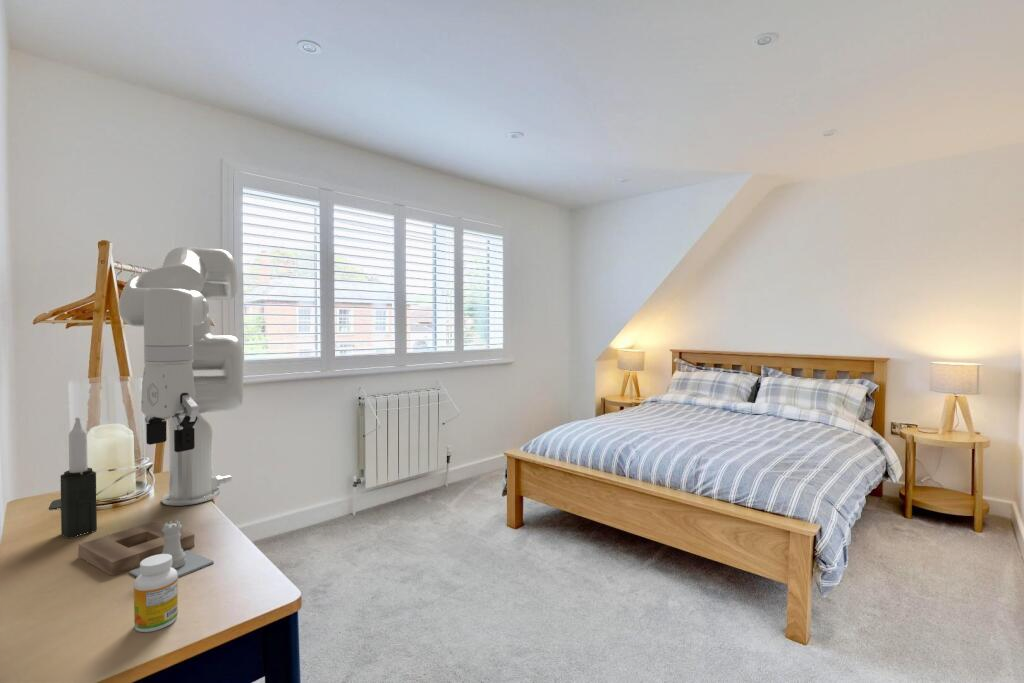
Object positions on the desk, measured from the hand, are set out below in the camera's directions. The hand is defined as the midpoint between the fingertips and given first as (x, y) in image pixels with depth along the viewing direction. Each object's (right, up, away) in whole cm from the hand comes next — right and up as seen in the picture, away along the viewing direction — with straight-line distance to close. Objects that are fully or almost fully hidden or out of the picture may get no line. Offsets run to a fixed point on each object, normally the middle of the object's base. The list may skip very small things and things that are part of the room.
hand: (170, 446), depth 93 cm
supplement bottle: (+10, -23, -17) cm, 31 cm away
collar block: (-11, -22, +6) cm, 25 cm away
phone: (-44, -21, +34) cm, 60 cm away
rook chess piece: (+1, -22, 0) cm, 22 cm away
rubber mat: (+1, -23, 0) cm, 22 cm away
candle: (-30, -22, +15) cm, 40 cm away
